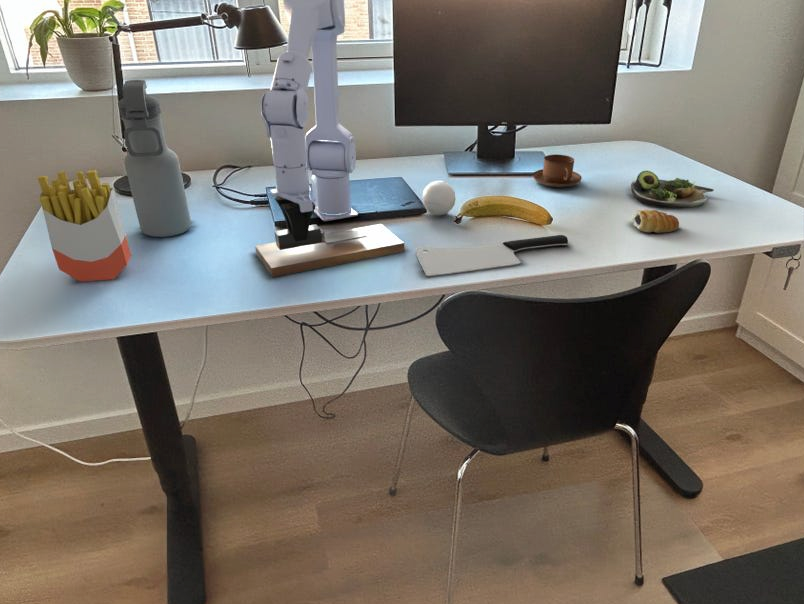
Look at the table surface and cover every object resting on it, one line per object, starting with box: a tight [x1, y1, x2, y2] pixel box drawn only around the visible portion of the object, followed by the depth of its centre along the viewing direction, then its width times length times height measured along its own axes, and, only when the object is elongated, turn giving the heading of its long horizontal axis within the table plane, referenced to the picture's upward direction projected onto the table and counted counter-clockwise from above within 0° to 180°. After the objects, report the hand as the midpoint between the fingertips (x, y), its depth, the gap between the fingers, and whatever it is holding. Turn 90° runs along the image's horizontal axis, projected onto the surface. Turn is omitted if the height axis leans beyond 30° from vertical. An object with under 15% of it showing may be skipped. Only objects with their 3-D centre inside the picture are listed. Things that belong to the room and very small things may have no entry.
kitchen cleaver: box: [415, 234, 569, 277], centre depth 126 cm, size 31×2×10 cm
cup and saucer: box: [532, 154, 583, 188], centre depth 163 cm, size 12×12×6 cm
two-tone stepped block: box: [274, 224, 367, 250], centre depth 123 cm, size 4×17×3 cm, turn 119°
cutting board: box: [254, 223, 405, 278], centre depth 126 cm, size 11×26×2 cm, turn 119°
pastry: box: [632, 209, 680, 234], centre depth 140 cm, size 9×7×4 cm
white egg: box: [415, 180, 457, 216], centre depth 143 cm, size 10×7×7 cm
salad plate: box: [630, 170, 715, 208], centre depth 157 cm, size 19×18×5 cm
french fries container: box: [37, 169, 132, 282], centre depth 111 cm, size 5×11×18 cm, turn 102°
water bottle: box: [117, 79, 192, 238], centre depth 127 cm, size 10×10×28 cm
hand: (298, 236), depth 122 cm, fingers closed on two-tone stepped block, 2 cm apart
